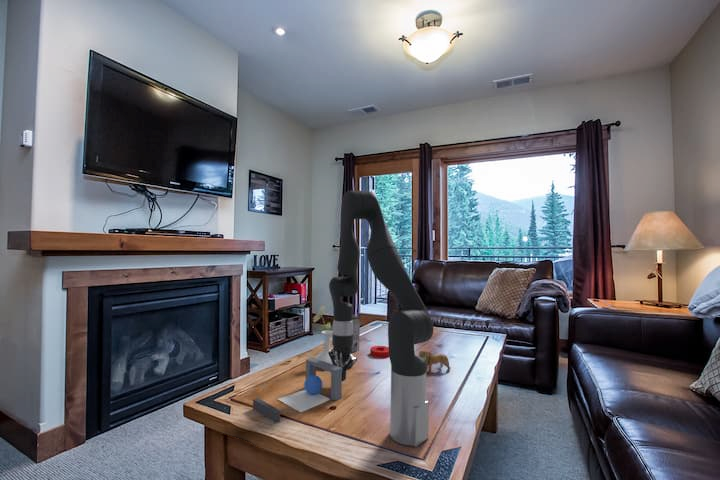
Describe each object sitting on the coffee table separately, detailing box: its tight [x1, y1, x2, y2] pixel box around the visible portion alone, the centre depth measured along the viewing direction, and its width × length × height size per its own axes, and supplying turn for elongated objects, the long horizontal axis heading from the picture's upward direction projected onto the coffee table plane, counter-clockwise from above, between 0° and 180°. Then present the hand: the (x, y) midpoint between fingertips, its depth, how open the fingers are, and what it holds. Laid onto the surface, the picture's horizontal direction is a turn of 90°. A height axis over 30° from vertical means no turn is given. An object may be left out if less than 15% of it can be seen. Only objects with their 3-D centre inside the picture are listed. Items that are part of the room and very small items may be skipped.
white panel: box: [277, 388, 331, 413], centre depth 109 cm, size 12×12×1 cm
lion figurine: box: [418, 349, 452, 374], centre depth 137 cm, size 15×5×9 cm, turn 109°
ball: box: [303, 374, 323, 394], centre depth 114 cm, size 6×6×6 cm
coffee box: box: [351, 314, 361, 353], centre depth 165 cm, size 9×6×16 cm
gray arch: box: [305, 357, 343, 402], centre depth 115 cm, size 3×15×10 cm, turn 47°
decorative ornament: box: [369, 345, 389, 359], centre depth 157 cm, size 10×10×3 cm
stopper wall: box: [252, 397, 281, 424], centre depth 99 cm, size 12×2×3 cm, turn 48°
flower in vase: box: [312, 305, 336, 365], centre depth 141 cm, size 13×11×25 cm
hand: (341, 380), depth 122 cm, fingers closed
